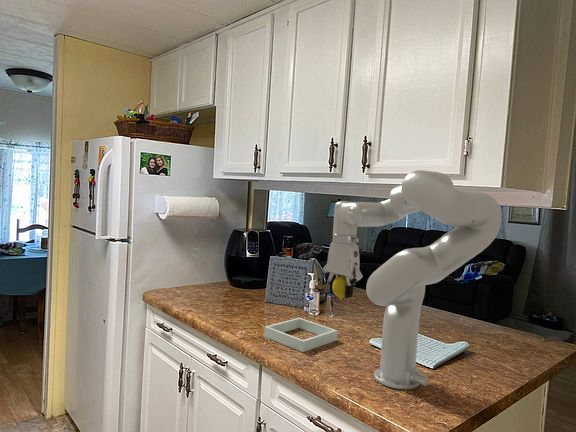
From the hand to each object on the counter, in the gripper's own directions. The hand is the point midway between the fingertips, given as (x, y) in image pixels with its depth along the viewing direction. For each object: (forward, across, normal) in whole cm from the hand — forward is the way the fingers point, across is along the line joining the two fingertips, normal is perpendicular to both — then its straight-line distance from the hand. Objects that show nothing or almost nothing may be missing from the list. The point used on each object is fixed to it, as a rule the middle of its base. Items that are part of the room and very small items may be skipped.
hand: (340, 294), depth 138 cm
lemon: (+2, 0, 0) cm, 2 cm away
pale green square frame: (+19, +15, +1) cm, 24 cm away
